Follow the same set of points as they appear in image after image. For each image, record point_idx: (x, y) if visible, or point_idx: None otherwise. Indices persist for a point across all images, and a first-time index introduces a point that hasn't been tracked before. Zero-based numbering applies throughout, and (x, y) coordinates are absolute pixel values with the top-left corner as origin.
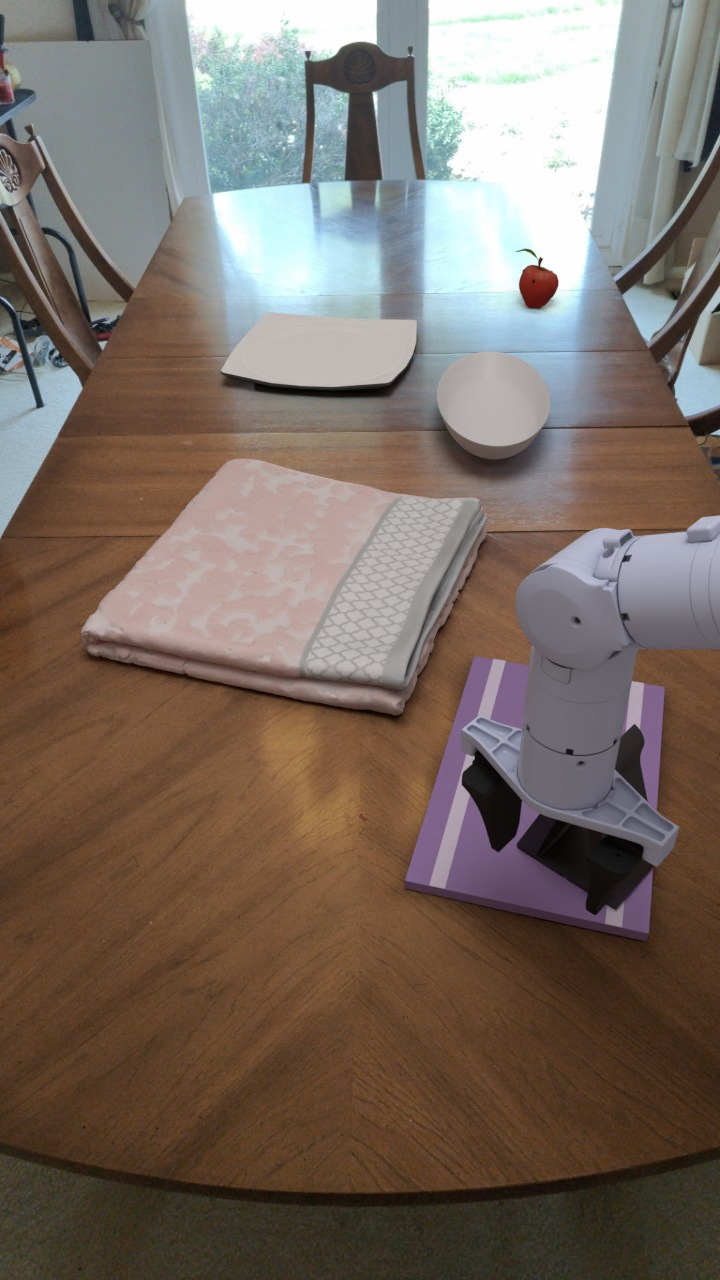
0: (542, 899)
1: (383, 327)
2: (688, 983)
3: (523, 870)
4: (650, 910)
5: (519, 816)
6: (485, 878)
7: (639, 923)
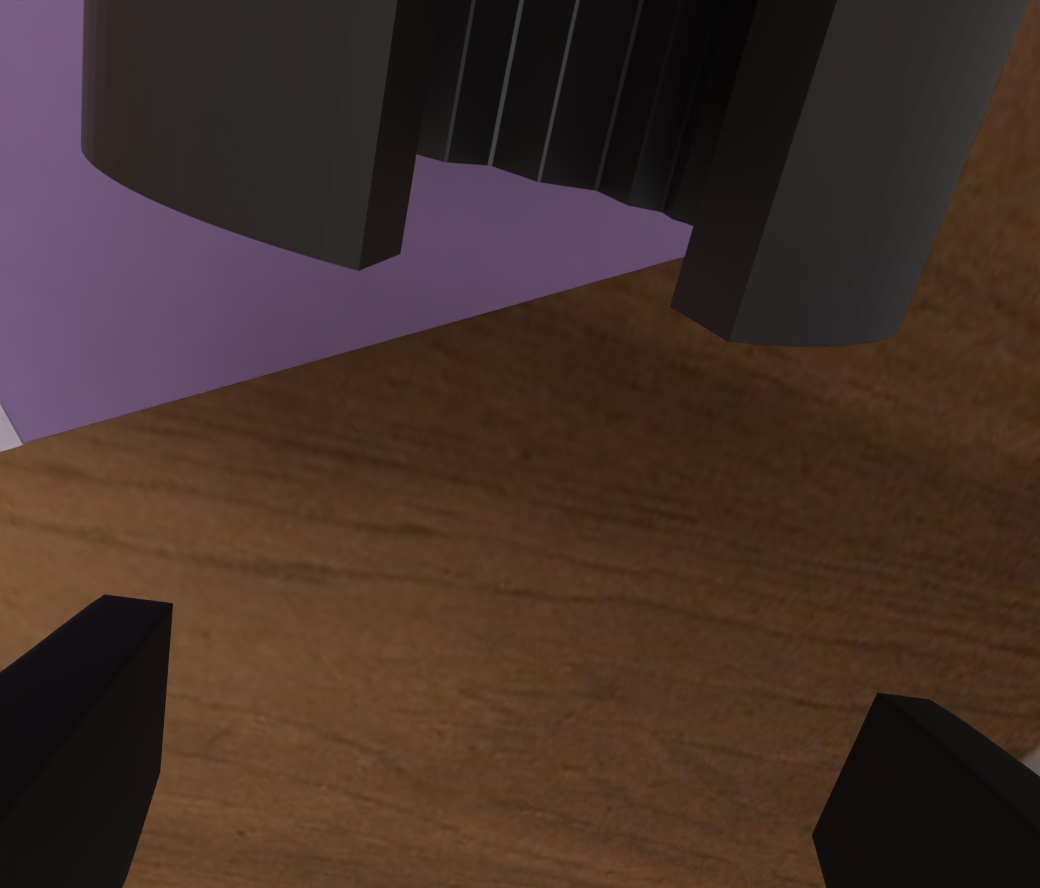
0: (419, 269)
1: None
2: (1035, 287)
3: None
4: None
5: (100, 703)
6: (135, 297)
7: None
